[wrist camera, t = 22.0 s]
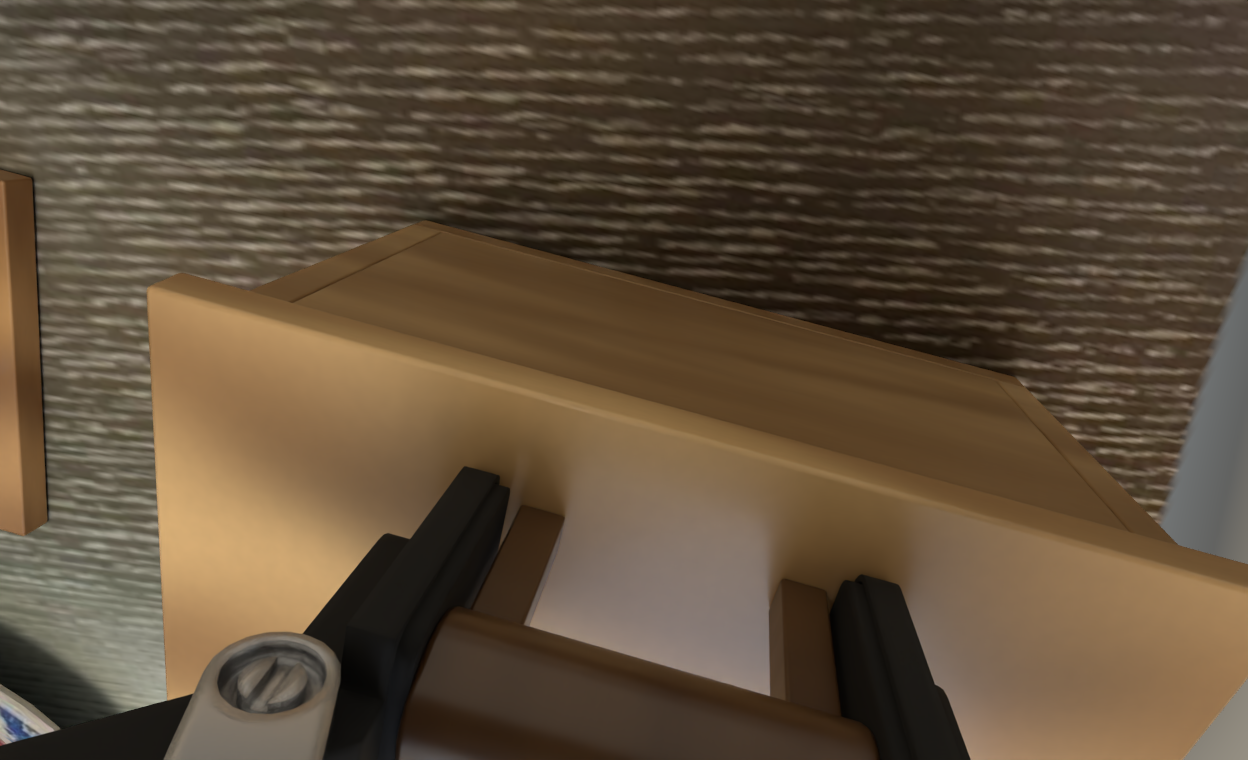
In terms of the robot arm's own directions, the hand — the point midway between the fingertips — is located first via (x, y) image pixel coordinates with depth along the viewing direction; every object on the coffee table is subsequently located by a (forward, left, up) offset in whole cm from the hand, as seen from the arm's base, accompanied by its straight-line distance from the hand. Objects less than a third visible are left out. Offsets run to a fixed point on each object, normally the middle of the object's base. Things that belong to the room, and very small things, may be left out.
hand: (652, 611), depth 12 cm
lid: (+6, 0, -2) cm, 6 cm away
